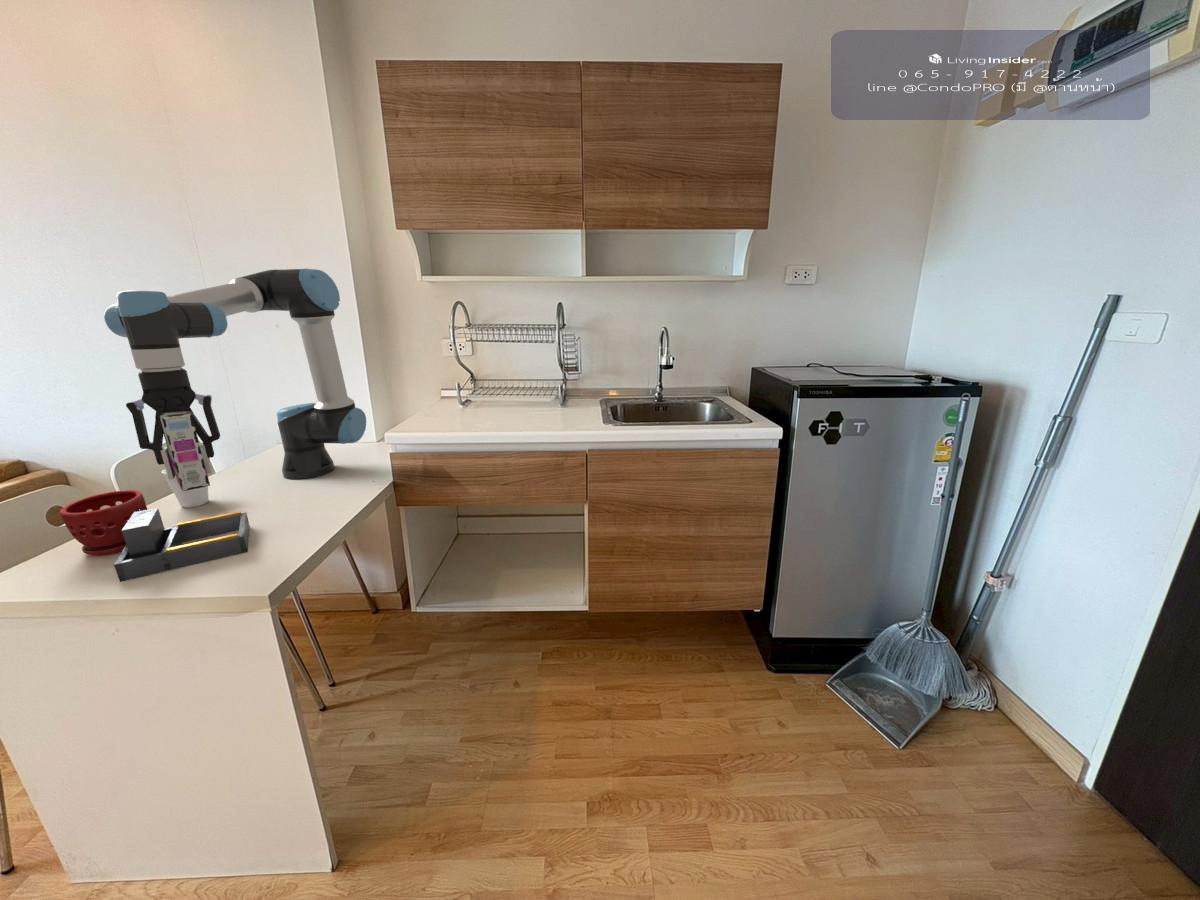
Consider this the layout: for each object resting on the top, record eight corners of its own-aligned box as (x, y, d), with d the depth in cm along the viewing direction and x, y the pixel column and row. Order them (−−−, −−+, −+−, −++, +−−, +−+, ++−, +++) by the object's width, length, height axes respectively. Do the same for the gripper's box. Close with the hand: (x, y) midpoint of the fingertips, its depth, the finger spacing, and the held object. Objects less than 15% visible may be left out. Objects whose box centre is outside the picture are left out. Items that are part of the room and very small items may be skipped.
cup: (191, 512, 127) (180, 474, 124) (162, 509, 129) (151, 472, 126) (226, 498, 136) (216, 463, 133) (198, 496, 138) (189, 461, 135)
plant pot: (91, 542, 111) (75, 496, 107) (163, 530, 117) (150, 485, 113) (65, 567, 100) (45, 516, 96) (146, 552, 106) (130, 504, 102)
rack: (249, 526, 118) (240, 490, 115) (247, 552, 105) (237, 511, 102) (137, 550, 107) (124, 510, 104) (119, 582, 94) (104, 537, 91)
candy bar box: (212, 485, 101) (192, 412, 97) (182, 492, 98) (159, 416, 93) (204, 474, 109) (185, 405, 104) (176, 480, 105) (154, 409, 100)
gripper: (220, 364, 104) (244, 462, 111) (104, 371, 94) (137, 478, 101) (217, 367, 98) (242, 470, 105) (92, 374, 88) (129, 488, 95)
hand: (191, 474), depth 103 cm, fingers closed on candy bar box, 6 cm apart
